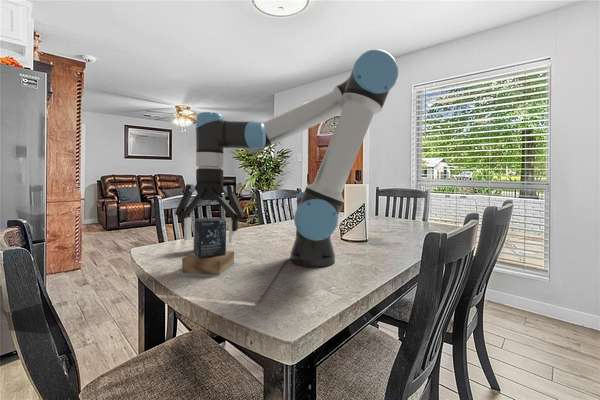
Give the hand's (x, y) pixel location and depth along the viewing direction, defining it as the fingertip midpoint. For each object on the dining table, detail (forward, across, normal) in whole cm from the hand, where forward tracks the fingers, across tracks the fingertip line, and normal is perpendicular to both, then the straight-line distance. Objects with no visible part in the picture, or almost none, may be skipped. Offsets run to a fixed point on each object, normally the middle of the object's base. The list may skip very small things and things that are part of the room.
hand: (209, 240), depth 87 cm
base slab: (+8, 0, 0) cm, 8 cm away
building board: (+9, 0, 0) cm, 9 cm away
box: (+4, 0, 0) cm, 4 cm away
